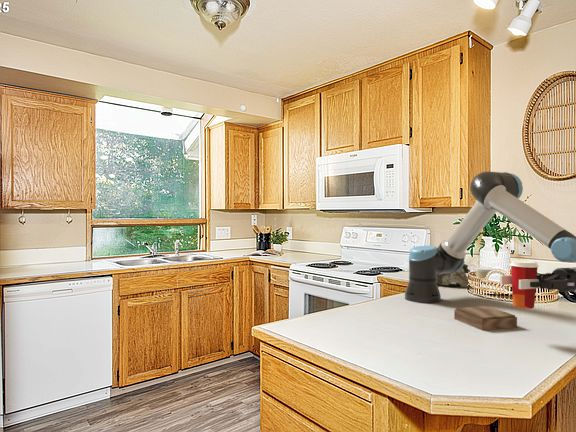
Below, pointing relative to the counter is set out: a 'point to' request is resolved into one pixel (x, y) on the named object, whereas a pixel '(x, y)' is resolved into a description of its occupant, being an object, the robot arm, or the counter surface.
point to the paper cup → (522, 272)
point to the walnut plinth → (485, 318)
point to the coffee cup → (482, 271)
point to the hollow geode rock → (454, 277)
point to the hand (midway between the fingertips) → (510, 282)
